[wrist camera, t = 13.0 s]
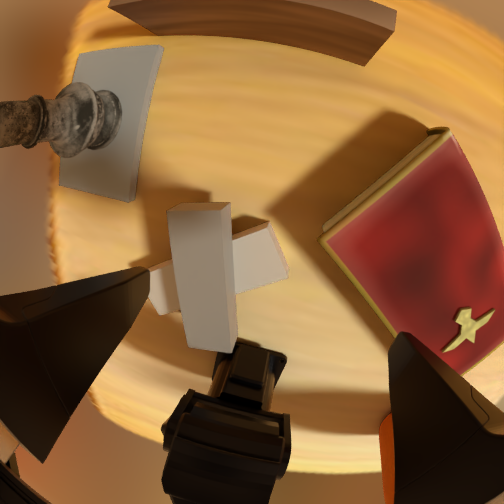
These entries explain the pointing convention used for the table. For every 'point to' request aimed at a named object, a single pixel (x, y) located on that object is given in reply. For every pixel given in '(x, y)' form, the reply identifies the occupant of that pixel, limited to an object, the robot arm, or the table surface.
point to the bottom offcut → (245, 267)
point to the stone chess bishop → (62, 120)
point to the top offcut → (204, 273)
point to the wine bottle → (387, 458)
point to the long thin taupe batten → (273, 22)
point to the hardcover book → (427, 252)
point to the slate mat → (132, 125)
